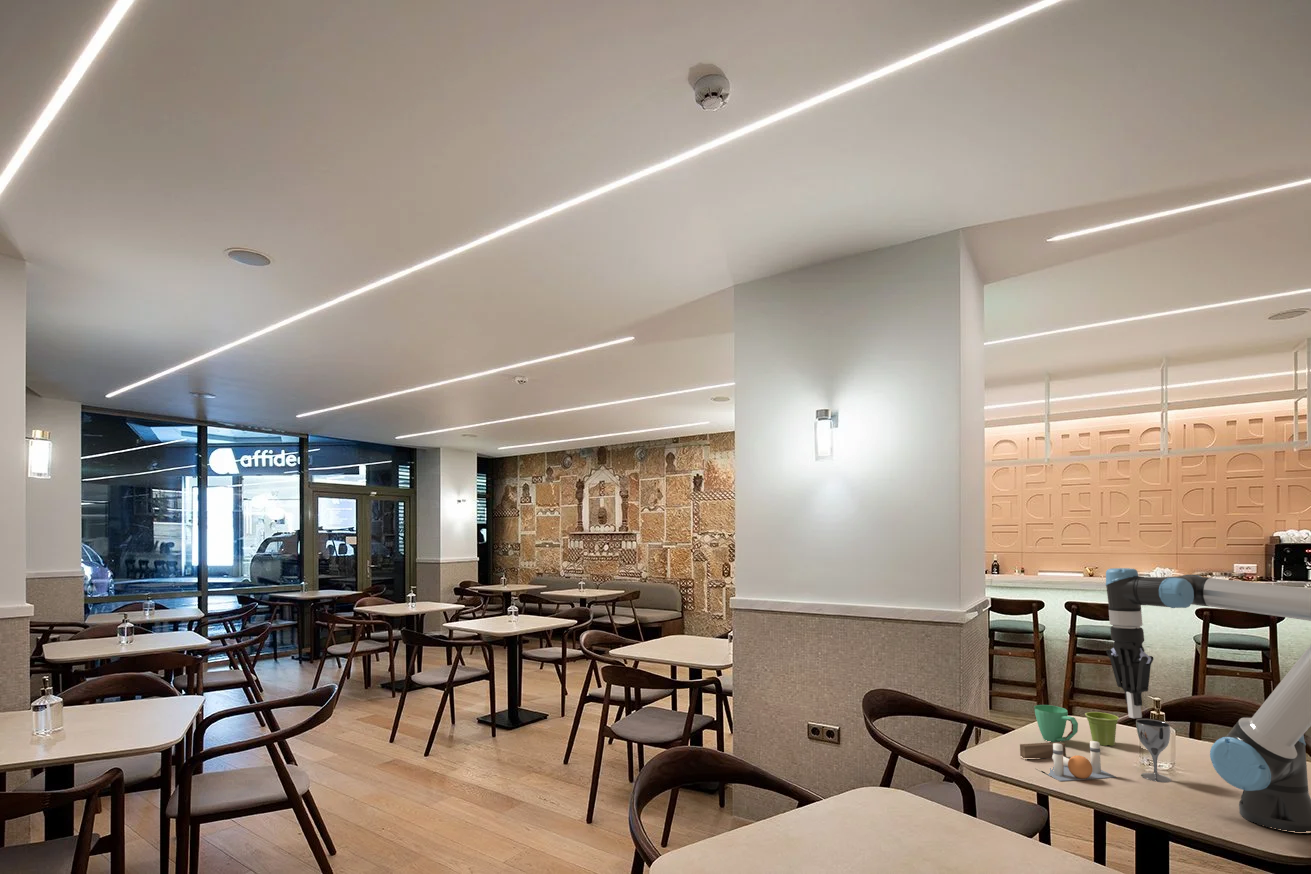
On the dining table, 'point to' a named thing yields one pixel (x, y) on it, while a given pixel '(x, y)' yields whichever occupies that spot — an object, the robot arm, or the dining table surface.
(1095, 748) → the pin right
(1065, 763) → the pin middle
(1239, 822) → the dining table surface
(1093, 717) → the plant pot
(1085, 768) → the brown egg
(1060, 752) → the pin left
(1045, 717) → the mug
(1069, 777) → the pin deck
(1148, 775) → the wine glass
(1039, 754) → the back wall
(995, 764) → the dining table surface
